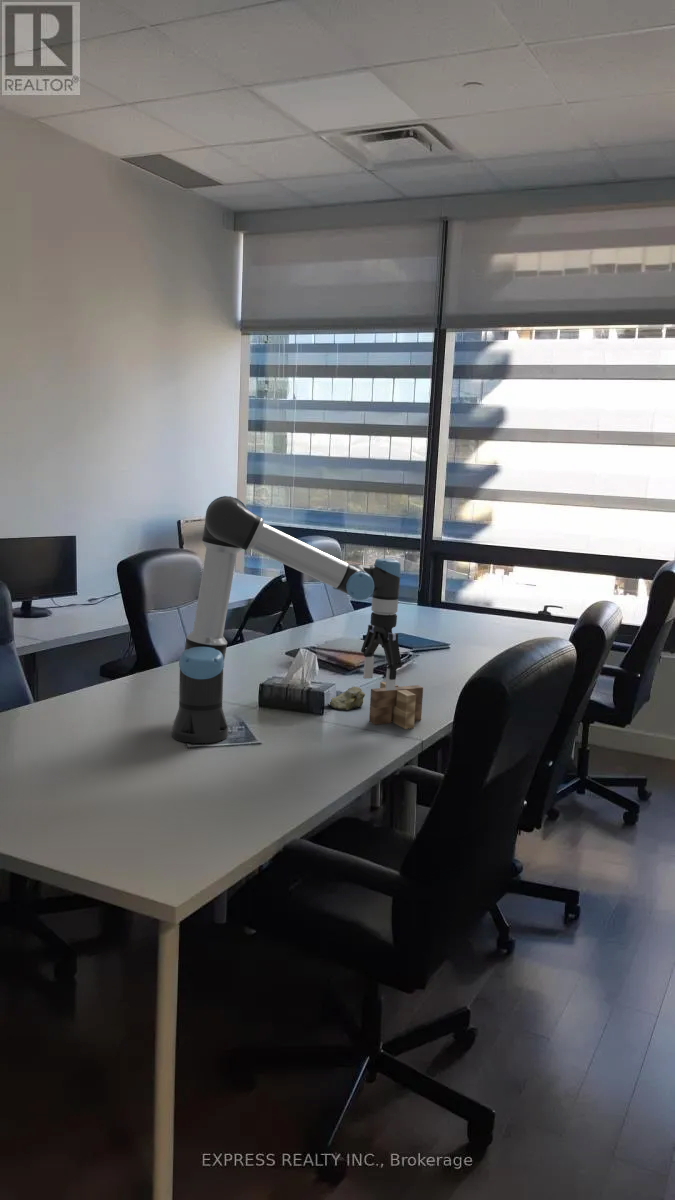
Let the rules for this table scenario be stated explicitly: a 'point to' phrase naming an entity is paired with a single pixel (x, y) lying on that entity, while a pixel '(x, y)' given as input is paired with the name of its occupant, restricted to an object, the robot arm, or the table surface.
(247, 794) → the table surface
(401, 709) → the oak board
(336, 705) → the rock
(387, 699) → the walnut plate
